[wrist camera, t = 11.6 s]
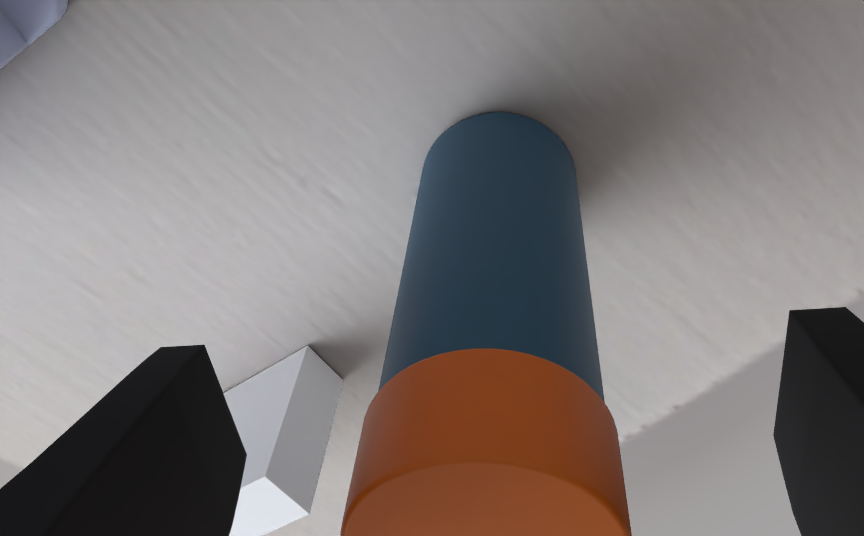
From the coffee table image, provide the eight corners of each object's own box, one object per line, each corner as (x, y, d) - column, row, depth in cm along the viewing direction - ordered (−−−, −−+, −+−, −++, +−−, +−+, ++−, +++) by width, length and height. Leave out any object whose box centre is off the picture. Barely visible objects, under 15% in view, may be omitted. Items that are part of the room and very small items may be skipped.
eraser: (345, 380, 18) (309, 516, 15) (196, 459, 20) (139, 593, 17) (308, 344, 18) (263, 477, 15) (159, 428, 19) (92, 560, 16)
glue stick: (584, 244, 15) (635, 641, 9) (428, 255, 16) (368, 641, 9) (577, 97, 14) (633, 452, 7) (404, 114, 14) (309, 463, 8)
